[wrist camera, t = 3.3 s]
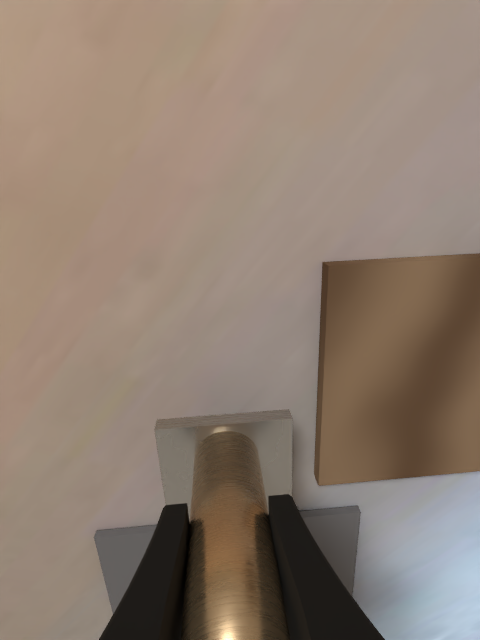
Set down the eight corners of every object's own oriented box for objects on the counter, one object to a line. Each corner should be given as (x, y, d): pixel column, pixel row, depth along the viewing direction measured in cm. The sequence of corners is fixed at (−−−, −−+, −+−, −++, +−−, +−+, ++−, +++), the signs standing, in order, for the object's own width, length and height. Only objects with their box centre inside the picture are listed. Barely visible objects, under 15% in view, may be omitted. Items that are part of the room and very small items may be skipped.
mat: (357, 505, 19) (360, 512, 19) (339, 695, 25) (341, 702, 25) (96, 530, 18) (93, 537, 18) (142, 720, 24) (141, 728, 24)
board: (574, 248, 15) (594, 251, 14) (516, 455, 19) (529, 466, 18) (322, 262, 14) (328, 265, 14) (314, 473, 18) (318, 485, 17)
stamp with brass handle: (157, 419, 13) (63, 784, 5) (289, 409, 13) (405, 740, 5) (174, 536, 15) (127, 932, 7) (288, 525, 15) (371, 893, 7)
